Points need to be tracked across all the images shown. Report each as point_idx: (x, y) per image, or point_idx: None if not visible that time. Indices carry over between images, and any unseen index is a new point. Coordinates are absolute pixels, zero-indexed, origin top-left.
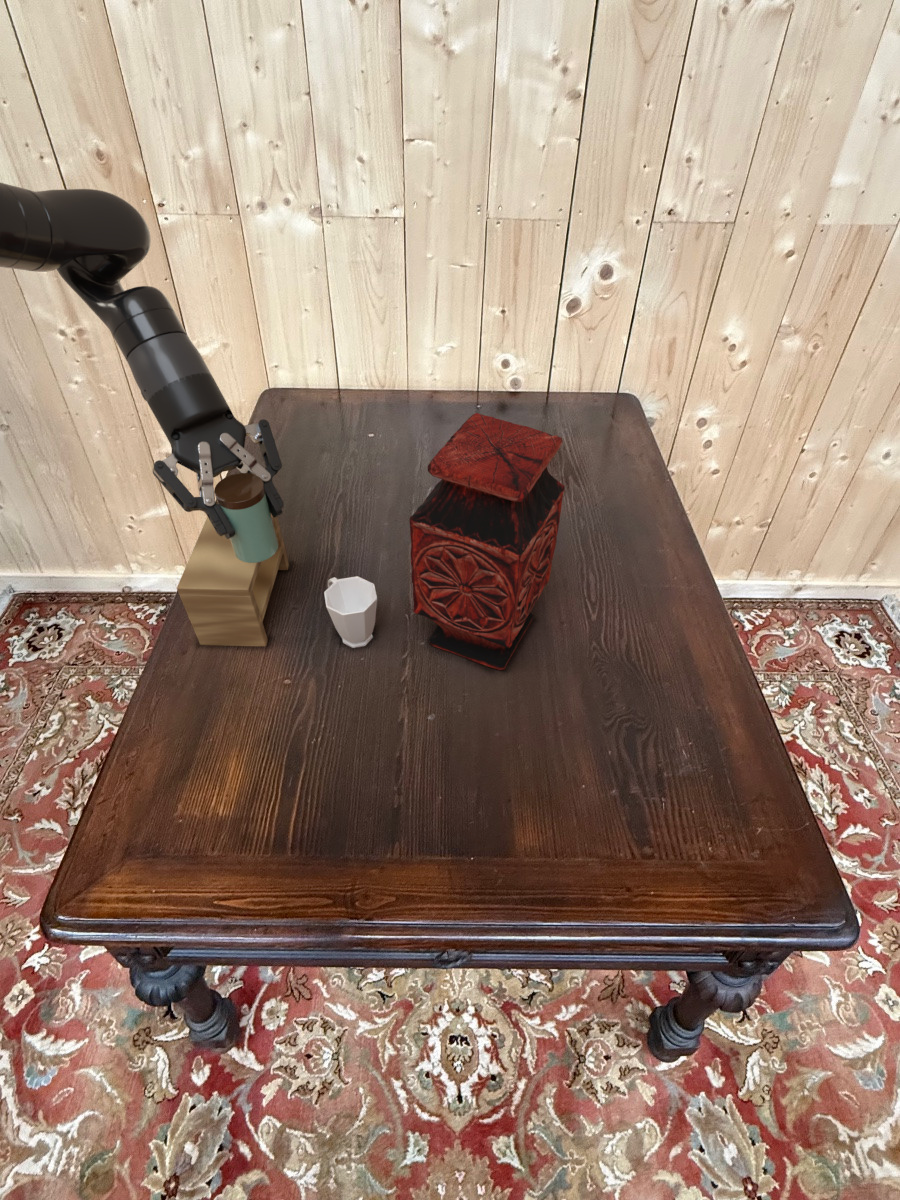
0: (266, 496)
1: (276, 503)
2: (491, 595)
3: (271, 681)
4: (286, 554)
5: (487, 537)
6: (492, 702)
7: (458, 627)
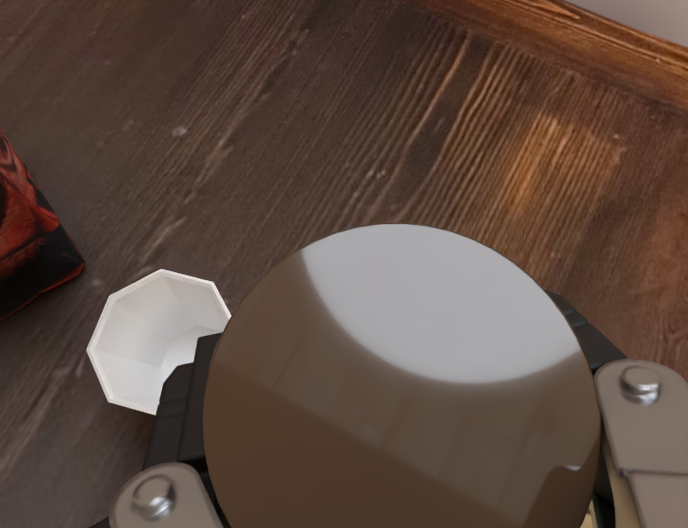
0: None
1: (204, 360)
2: None
3: None
4: None
5: None
6: (73, 112)
7: (4, 136)
